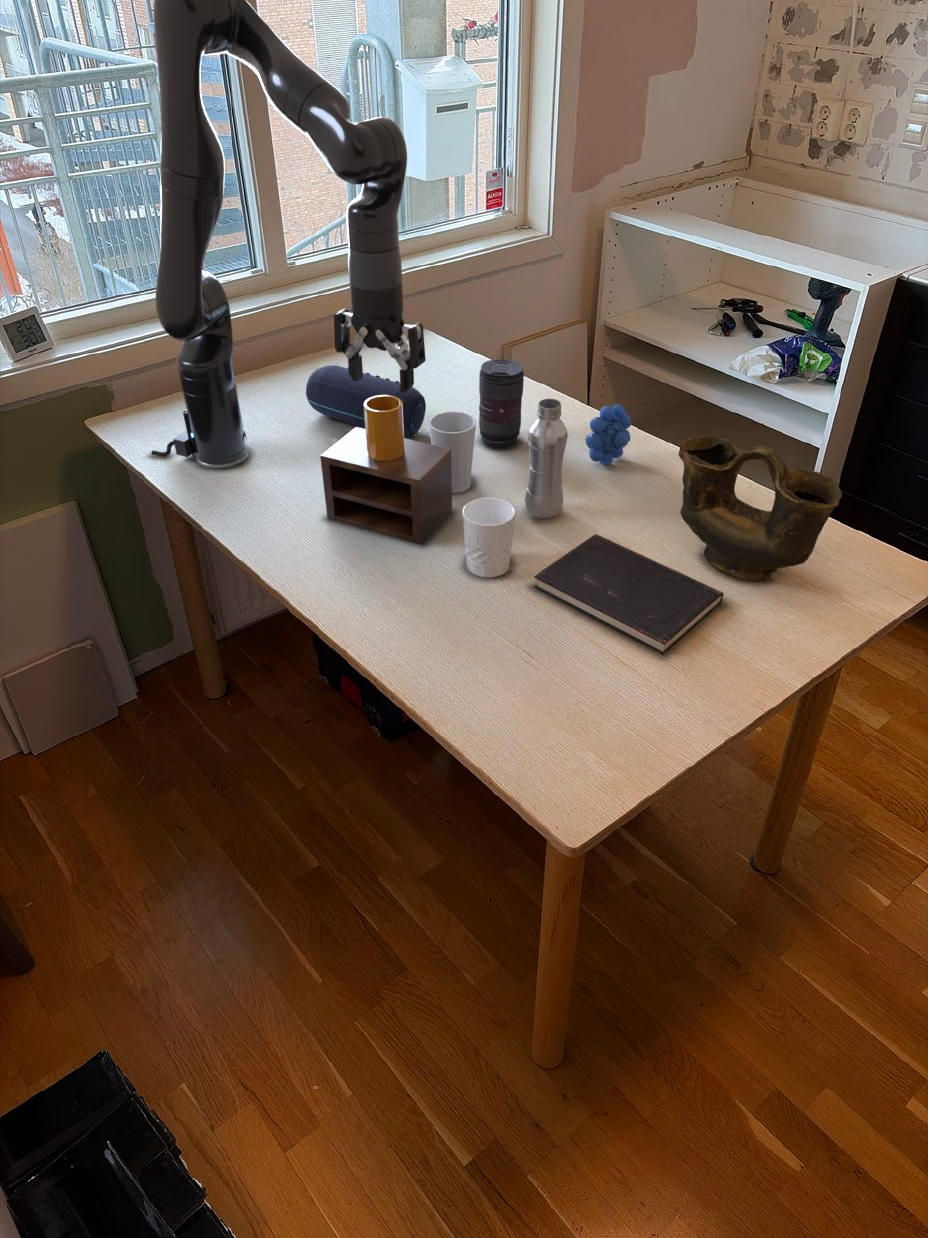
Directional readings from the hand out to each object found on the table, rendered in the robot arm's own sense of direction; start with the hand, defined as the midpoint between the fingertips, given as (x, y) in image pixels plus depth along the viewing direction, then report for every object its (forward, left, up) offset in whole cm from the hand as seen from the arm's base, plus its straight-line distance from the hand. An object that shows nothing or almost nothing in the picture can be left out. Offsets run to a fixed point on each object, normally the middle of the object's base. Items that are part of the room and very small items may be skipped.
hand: (381, 385), depth 141 cm
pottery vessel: (+56, +12, -24) cm, 62 cm away
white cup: (+21, -6, -24) cm, 32 cm away
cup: (+5, +14, -24) cm, 28 cm away
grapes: (+28, +32, -24) cm, 49 cm away
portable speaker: (-20, +27, -24) cm, 41 cm away
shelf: (0, 0, -24) cm, 24 cm away
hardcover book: (+43, -4, -24) cm, 49 cm away
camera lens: (+6, +32, -24) cm, 40 cm away
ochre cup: (0, 0, -12) cm, 12 cm away
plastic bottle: (+23, +12, -24) cm, 35 cm away
